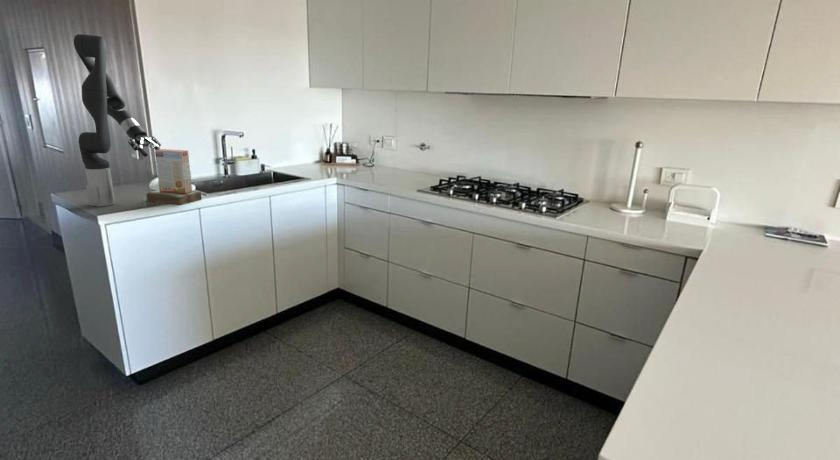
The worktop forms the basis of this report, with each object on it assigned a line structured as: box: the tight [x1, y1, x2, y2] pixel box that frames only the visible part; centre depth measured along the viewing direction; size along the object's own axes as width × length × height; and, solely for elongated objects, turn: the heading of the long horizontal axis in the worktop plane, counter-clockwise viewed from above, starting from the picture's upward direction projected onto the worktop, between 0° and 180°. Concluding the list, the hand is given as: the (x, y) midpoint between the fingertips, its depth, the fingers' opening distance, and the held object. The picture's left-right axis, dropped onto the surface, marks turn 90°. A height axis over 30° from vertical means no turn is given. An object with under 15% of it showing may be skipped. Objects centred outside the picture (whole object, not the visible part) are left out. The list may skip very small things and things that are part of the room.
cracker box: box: [154, 148, 193, 194], centre depth 224 cm, size 14×6×21 cm, turn 82°
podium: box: [146, 189, 202, 206], centre depth 227 cm, size 14×20×4 cm
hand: (154, 154), depth 225 cm, fingers open, 8 cm apart
